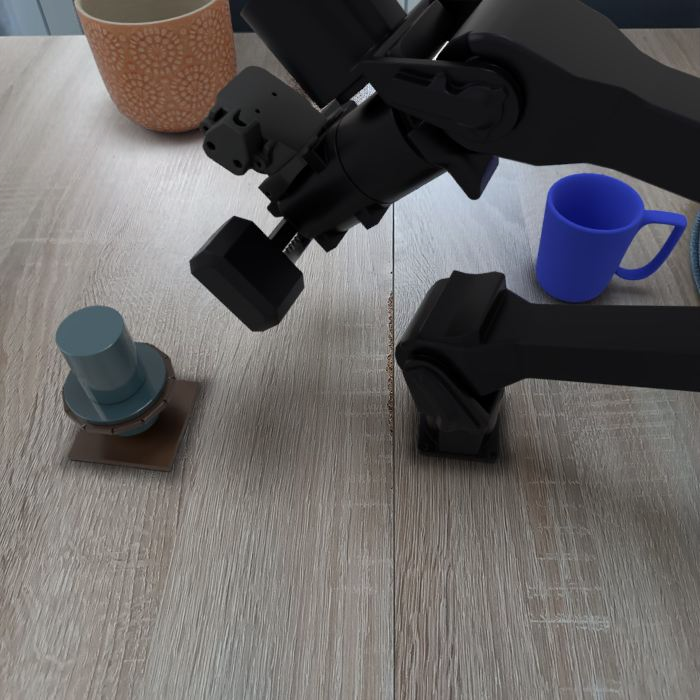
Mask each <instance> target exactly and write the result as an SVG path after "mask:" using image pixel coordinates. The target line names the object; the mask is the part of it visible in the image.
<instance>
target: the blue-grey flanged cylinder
mask: <svg viewBox="0 0 700 700" xmlns="http://www.w3.org/2000/svg"><path fill="white" fill-rule="evenodd" d="M54 341H55V344H56V347H57V349H58V350H59V352H60V353H61V356H62V357H63V358H64V360H65V362H66V363H67V365H68V367H69V368H70V370H69V372H68V374H67V376H66V379H65V382H64V384H65V386H64V396H65V400H66V403H67V405H68V406H69V408H70V410H71V411H72V412H73V413H74V415H76V416H77V417H78V418H80V419H81V420H83V421H85V422H88V423H91V424H95V425H115V424H120V423H124V422H127V421H130V420H132V419H134V418H136V417H138V416H140V415H142V414H143V413H144V412H146V411H147V410H148V409H150V408H151V407H152V406H153V405H154V404H155V403H156V402H157V400H158V399H159V398H160V396H161V394H162V393H163V391H164V388H165V386H166V382H167V369H166V366H165V363H164V361H163V359H162V357H161V356H160V354H159V353H158V352H157V351H156V350H155V349H153V348H152V347H150V346H148V345H146V344H143V343H140V342H141V341H134V339H133V337H132V335H131V332H130V331H129V328H128V326H127V323H126V322H125V319H124V316H123V315H122V314H121V313H120V312H119V311H118V310H116V309H115V308H113V307H110V306H107V305H99V304H98V305H89V306H85V307H81V308H79V309H77V310H75V311H73V312H72V313H70V314H68V315H67V316H66V317H65V318H64V319H63V320H62V321H61V322H60V324H59V325H58V326H57V329H56V330H55V339H54ZM159 414H160V412H159V413H158V414H157V415H156V416H155V417H154V418H153V419H152V420H150V421H149V422H148V423H147V424H145V423H144V422H143V426H141V427H138V428H135V429H132V430H129V431H126V432H123V433H120V434H115V432H114V434H115V435H119V436H132V435H136V434H139V433H141V432H143V431H145V430H147V429H148V428H149V427H151V426H152V425H153V424H154V423H155V421H156V420H157V418H158V416H159Z"/></svg>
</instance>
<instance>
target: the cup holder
mask: <svg viewBox="0 0 700 700" xmlns="http://www.w3.org/2000/svg"><path fill="white" fill-rule="evenodd" d="M139 342H140V343H143V344H146V345H148V346H150V347H152V348H153V349H155V350H156V351H157V352H158V353H159V354H160V356H161V357H162V359H163V361H164V363H165V366H166V369H167V382H166V386H165V388H164V391H163V393H162V394H161V396H160V398H159V399H158V400H157V402H156V403H155V404H154V405H153V406H152V407H151V408H150V409H148V410H147V411H146V412H144V413H143V414H142V415H140V416H138V417H136V418H134V419H132V420H130V421H127V422H124V423H120V424H115V425H95V424H91V423H88V422H85V421H83V420H81V419H80V418H78V417H77V416H76V415H74V413H73V412H72V411H71V410H70V408H69V406H68V405H67V403H66V400H65V396H64V386H65V383H64V384H63V385H62V387H61V389H62V390H61V398H62V405H63V410H64V413H65V414H66V416H67V418H68V419H70V420H71V421H72V422H73V423H74V424H75V425H77V426H78V427H79V428H80V429H79V430H78V432H77V435H76V437H75V439H74V441H73V444H72V445H71V448H70V450H69V452H68V454H67V457H68V459H70V460H72V461H79V462H80V461H81V462H88V463H89V462H90V463H97V464H104V465H112V466H113V465H114V466H121V467H128V468H129V467H130V468H139V469H145V470H154V471H163V472H171V470H172V469H173V468H172V467H173V465H174V462H175V459H176V457H177V454H178V451H179V448H180V445H181V442H182V440H183V436H184V433H185V431H186V428H187V427H188V426H187V425H188V422H189V420H190V417H191V414H192V412H193V408H194V407H195V403H196V400H197V398H198V394H199V392H200V389H201V383H200V382H199V381H193V380H183V379H177V376H176V373H175V370H174V366H173V362H172V359H171V358H170V356H169V355H168V354H167V353H165V352H164V351H163V350H161V349H160V348H158V347H157V346H155V345H154V344H153V343H149V342H143V341H139ZM159 412H160V414H159V416H158V418H157V420H156V421H155V423H154V424H153V425H152V426H151V427H149V428H148V429H147V430H145V431H143V432H141V433H139V434H136V435H132V436H119V435H115V434H120V433H123V432H126V431H129V430H132V429H135V428H138V427H141V426H143V422H144V423H145V424H147V423H148V422H149V421H150V420H152V419H153V418H154V417H155V416H156V415H157V414H158V413H159ZM114 432H115V434H114Z"/></svg>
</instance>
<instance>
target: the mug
mask: <svg viewBox="0 0 700 700" xmlns="http://www.w3.org/2000/svg"><path fill="white" fill-rule="evenodd" d="M644 203H645V202H644V201H643V199H642V197H641V195H640V193H638V191H636V189H634V188H633V187H632V186H631V185H629V184H628V183H626V182H624V181H623V180H620V179H617V178H615V177H613V176H609V175H606V174H601V173H594V172H581V173H575V174H573V173H572V174H570V175H569V174H568V175H566V176H564V177H562V178H560V179H558V180H557V181H555V182H554V183H553V184H552V185H551V186H550V187H549V189H548V191H547V194H546V201H545V206H544V212H543V213H544V214H543V219H542V226H541V233H540V237H539V243H538V251H537V257H536V262H535V263H536V264H535V274H536V275H535V276H536V279H537V281H538V284H539V286H540V287H541V289H543V291H545V292H546V293H547V294H548V295H550V296H551V297H553V298H555V299H557V300H559V301H563V302H568V303H583V302H588V301H591V300H593V299H595V298H597V297H598V296H600V294H601V293H603V292H604V290H605V289H606V288H607V286H608V285H609V283H610V281H611V280H612V278H613V276H614V275H616V276H617V277H618V278H620V279H622V280H624V281H625V280H626V281H633V282H634V281H641V280H644V279H647V278H649V277H650V276H652V275H653V274H654V273H656V272H657V271H658V270H659V268H661V266H662V265H663V264H664V263H665V261H666V260H667V259H668V258H669V257H670V255H671V254H672V252H673V250H674V249H675V247H676V246H677V244H678V242H679V241H680V239H681V238H682V236H683V234H684V232H685V231H686V229H687V228H688V218H687V216H686V215H684V214H681V213H678V212H671V211H665V210H657V209H645V204H644ZM653 224H657V225H667V226H672V227H673V228H672V230H671V232H670V234H669V236H668V237H667V239H666V240H665V242H664V244H663V245H662V247H661V248H660V250H659V251H658V252H657V253H656V255H655V256H654V257H653V258H652V259H651V260H650V261H649V262H648V263H646V264H645V265H643V266H641V267H639V268H632V269H630V268H624V267H621V266H620V265H621V263H622V261H623V259H624V258H625V257H624V256H625V255H626V254H627V251H628V249H629V248H630V246H631V243H632V242H633V241H634V239H635V237H636V235H638V233H639V231H641V229H642V228H644V227H645V226H647V225H653Z"/></svg>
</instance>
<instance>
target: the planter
mask: <svg viewBox="0 0 700 700" xmlns="http://www.w3.org/2000/svg"><path fill="white" fill-rule="evenodd" d="M74 6H75V11H76V13H77V16H78V19H79V22H80V25H81V27H82V30H83V33H84V35H85V38H86V41H87V44H88V46H89V49H90V51H91V54H92V58H93V61H94V63H95V65H96V68H97V70H98V72H99V75H100V77H101V81H102V82H103V85H104V87H105V89H106V91H107V93H108V95H109V97H110V99H111V101H112V102H113V104H114V106H115V107H116V108H117V110H118V111H119V112H120V113H121V114H122V115H123V116H124V117H126V118H127V119H128V120H130V122H133V123H134V124H136V125H138V126H140V127H143V128H144V129H148V130H151V131H155V132H159V133H171V134H176V133H185V132H190V131H194V130H197V129H199V124H200V122H201V121H202V120H204V119H205V118H206V117H207V116H208V115H209V111H210V109H211V108H212V107H213V106H214V105H215V101H216V97H217V94H218V92H219V91H220V90H221V89H223V88H224V87H225V86H226V85H227V84H228V83H229V82H230V81H231V80H232V79H233V78H235V77H236V76H237V75H238V64H237V52H236V45H235V36H234V30H233V23H232V15H231V8H230V0H74Z"/></svg>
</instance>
